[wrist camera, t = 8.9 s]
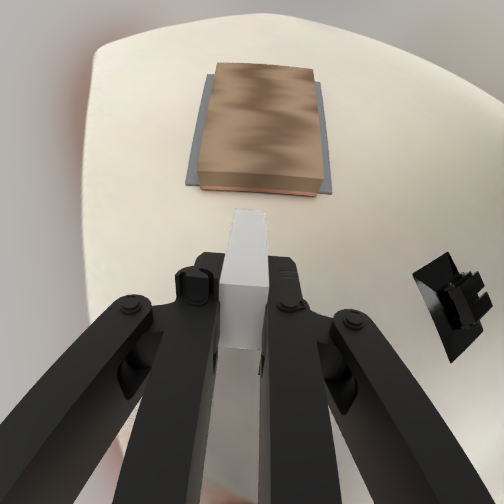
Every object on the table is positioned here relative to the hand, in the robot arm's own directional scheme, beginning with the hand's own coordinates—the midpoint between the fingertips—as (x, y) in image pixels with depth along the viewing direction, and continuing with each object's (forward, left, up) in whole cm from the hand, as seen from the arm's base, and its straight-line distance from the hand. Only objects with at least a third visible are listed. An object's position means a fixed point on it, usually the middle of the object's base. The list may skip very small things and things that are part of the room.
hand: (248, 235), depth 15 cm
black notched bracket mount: (-18, +9, -10) cm, 22 cm away
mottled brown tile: (-3, -7, -7) cm, 10 cm away
